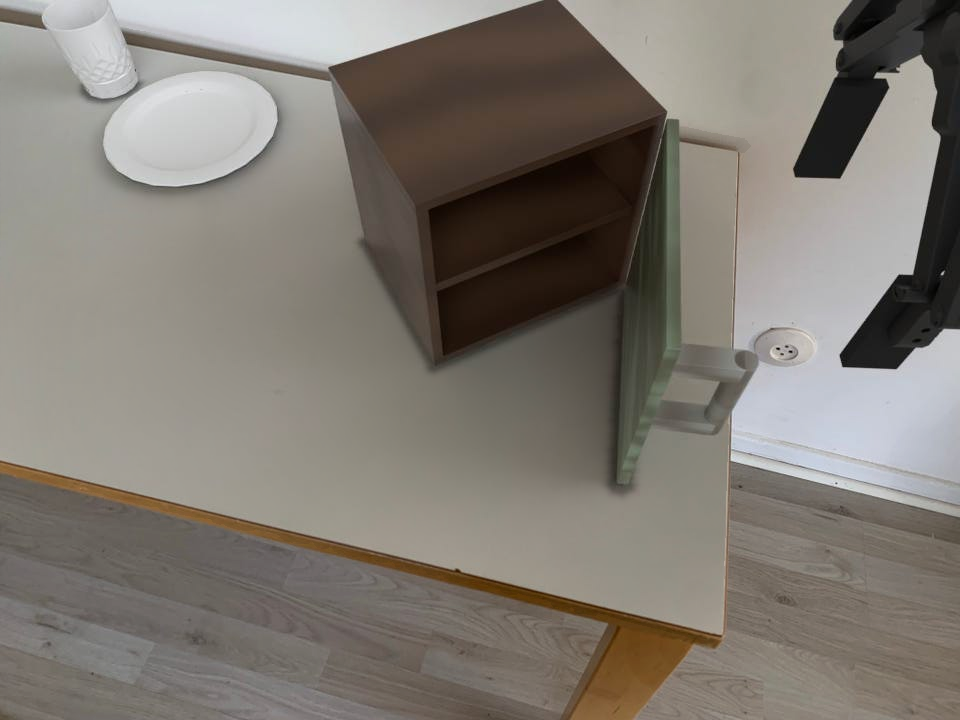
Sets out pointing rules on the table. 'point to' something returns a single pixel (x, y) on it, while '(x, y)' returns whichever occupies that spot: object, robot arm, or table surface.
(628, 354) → the cupboard door
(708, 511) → the table surface
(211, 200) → the table surface
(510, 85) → the cupboard
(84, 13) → the white cup
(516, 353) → the table surface
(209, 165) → the plate
